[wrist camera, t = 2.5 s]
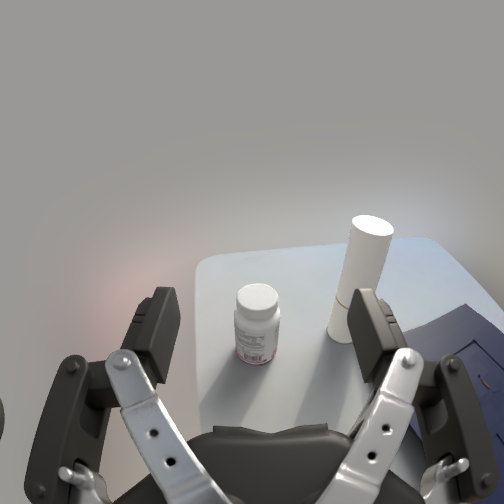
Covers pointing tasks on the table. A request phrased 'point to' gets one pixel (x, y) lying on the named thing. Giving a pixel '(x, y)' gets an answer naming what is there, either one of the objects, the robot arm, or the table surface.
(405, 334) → the papers
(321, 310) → the table surface
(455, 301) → the table surface
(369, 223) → the tube
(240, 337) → the pill bottle
